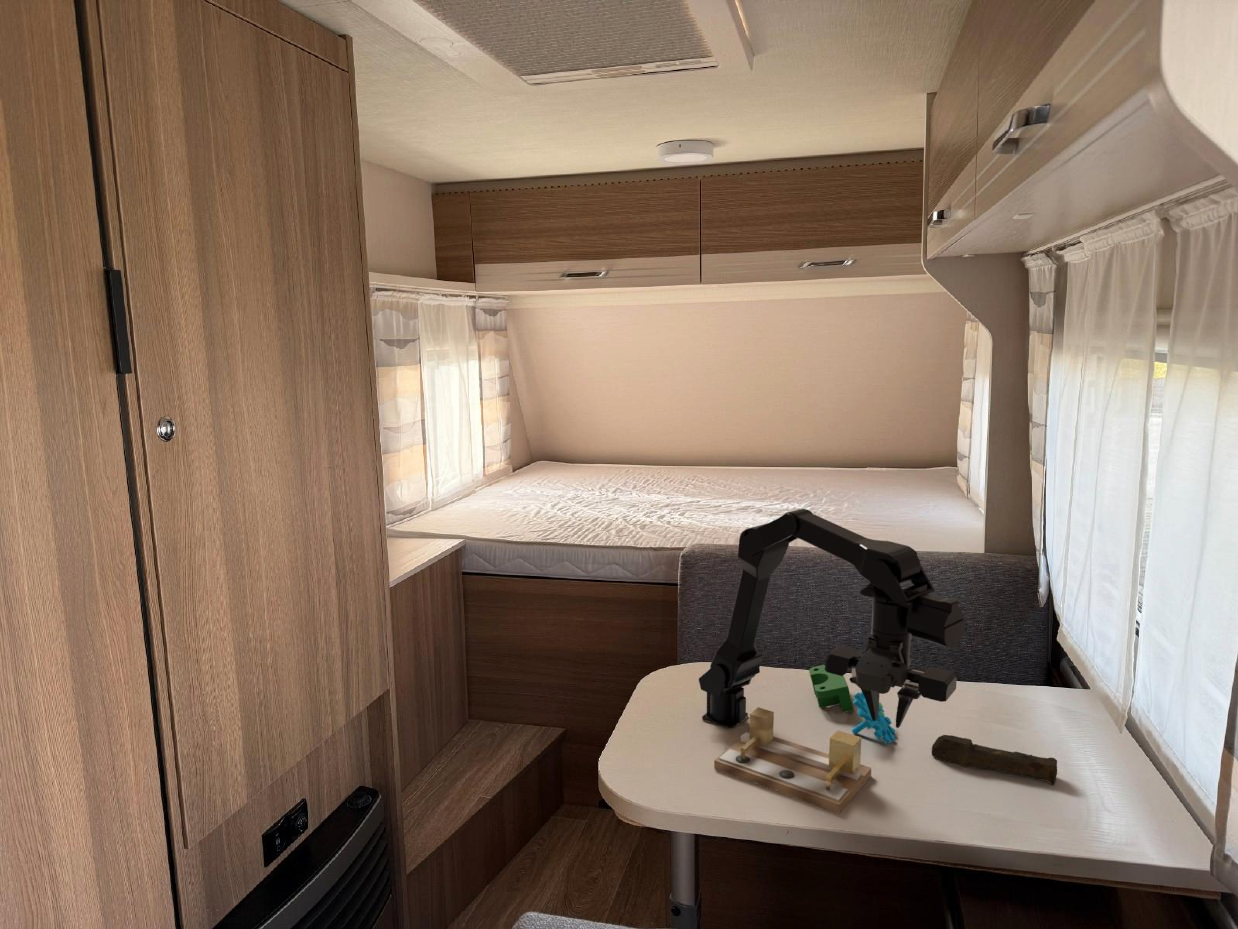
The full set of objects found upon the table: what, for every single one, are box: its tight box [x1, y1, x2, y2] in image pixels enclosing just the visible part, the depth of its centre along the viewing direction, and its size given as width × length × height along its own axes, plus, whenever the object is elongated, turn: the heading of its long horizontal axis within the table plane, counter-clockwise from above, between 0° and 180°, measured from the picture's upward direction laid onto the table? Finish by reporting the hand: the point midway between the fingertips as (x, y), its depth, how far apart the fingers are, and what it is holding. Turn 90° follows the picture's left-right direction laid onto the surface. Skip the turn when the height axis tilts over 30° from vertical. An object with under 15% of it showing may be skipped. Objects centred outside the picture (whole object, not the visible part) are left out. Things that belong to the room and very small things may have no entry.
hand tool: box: [931, 734, 1058, 786], centre depth 142 cm, size 19×4×5 cm, turn 62°
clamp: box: [808, 664, 854, 714], centre depth 166 cm, size 12×6×9 cm, turn 170°
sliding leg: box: [825, 730, 862, 789], centre depth 136 cm, size 4×8×6 cm, turn 143°
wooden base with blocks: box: [713, 707, 872, 814], centre depth 141 cm, size 22×13×8 cm, turn 53°
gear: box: [851, 691, 897, 745], centre depth 153 cm, size 11×6×10 cm
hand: (886, 723), depth 132 cm, fingers open, 3 cm apart
